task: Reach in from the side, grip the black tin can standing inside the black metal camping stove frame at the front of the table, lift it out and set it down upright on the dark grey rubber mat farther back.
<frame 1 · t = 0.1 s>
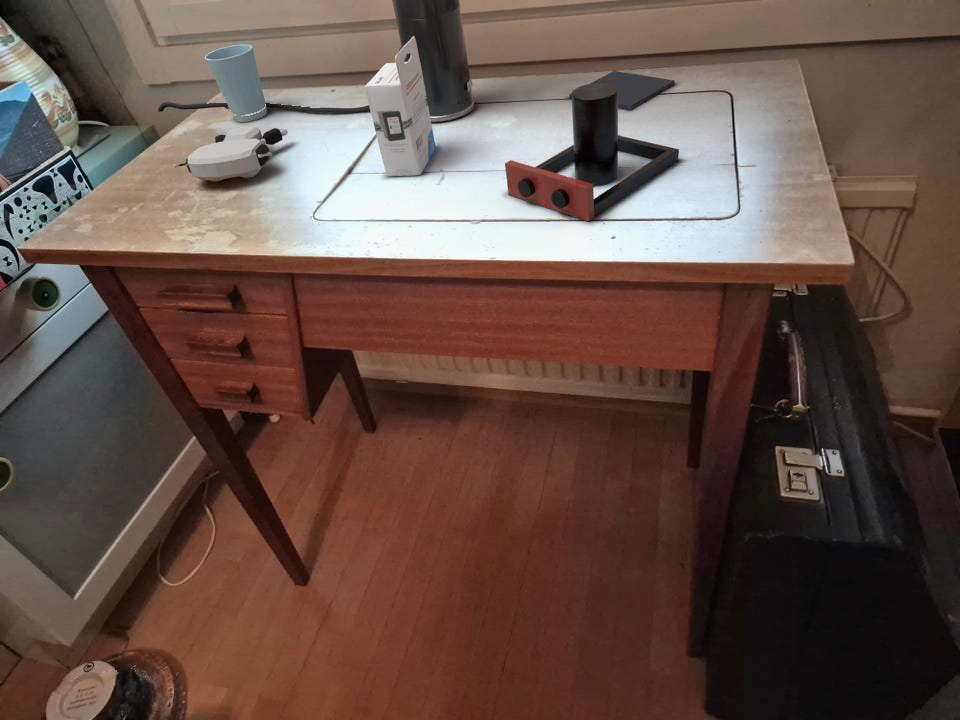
can: (596, 176, 78), resting in stove
mat: (621, 91, 98), on the table
stove: (596, 176, 78), on the table
cup: (251, 117, 112), on the table
ink box: (412, 164, 89), on the table
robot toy: (243, 168, 95), on the table
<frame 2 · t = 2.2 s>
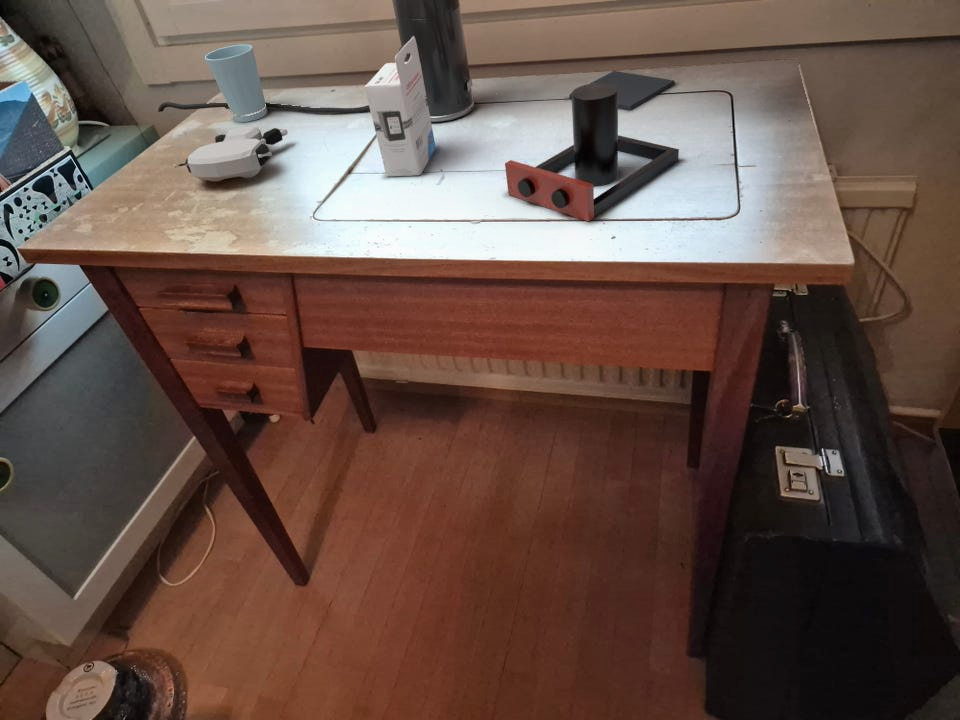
nothing on the table moved.
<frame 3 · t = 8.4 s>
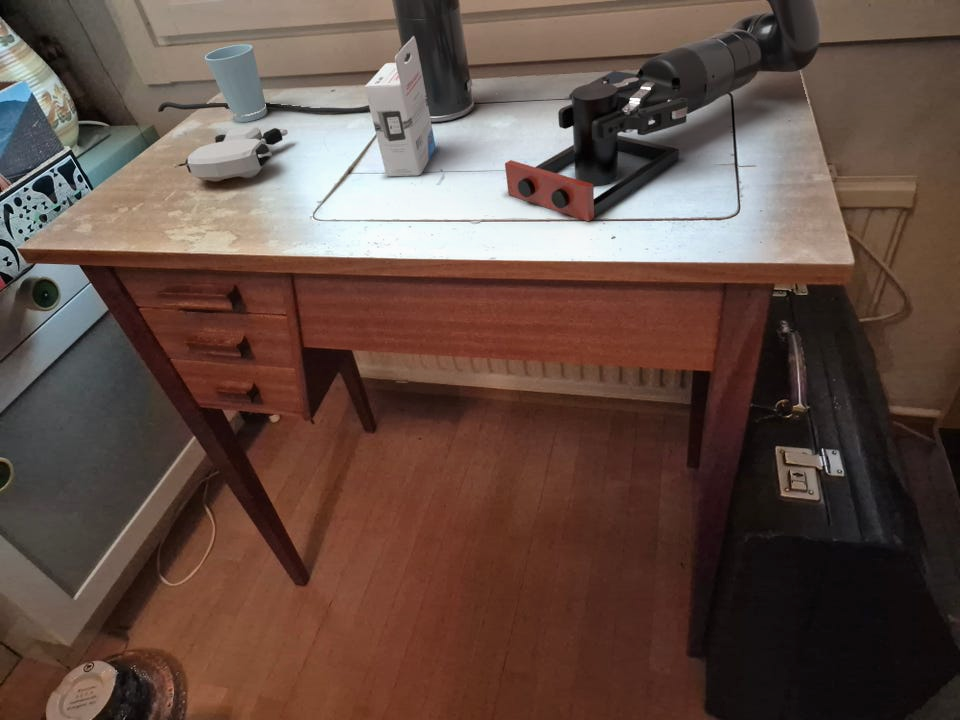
hand: (577, 125, 73), 7 cm above the table, tool horizontal, fingers closed on can, 5 cm apart
can: (596, 176, 78), resting in stove, touching gripper
everything else where it was.
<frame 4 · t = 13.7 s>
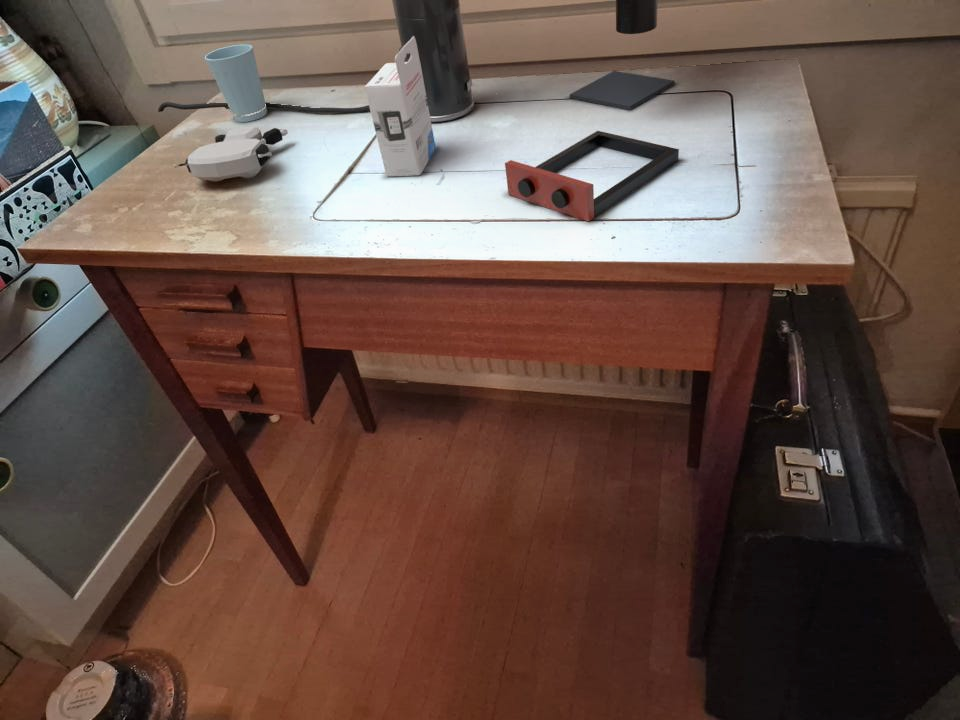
can: (636, 27, 83), point 11 cm above the table, touching gripper
everything else where it was.
when the fingers open (8 cm above the table, at t = 19.0 s): can stays where it is, resting on mat.
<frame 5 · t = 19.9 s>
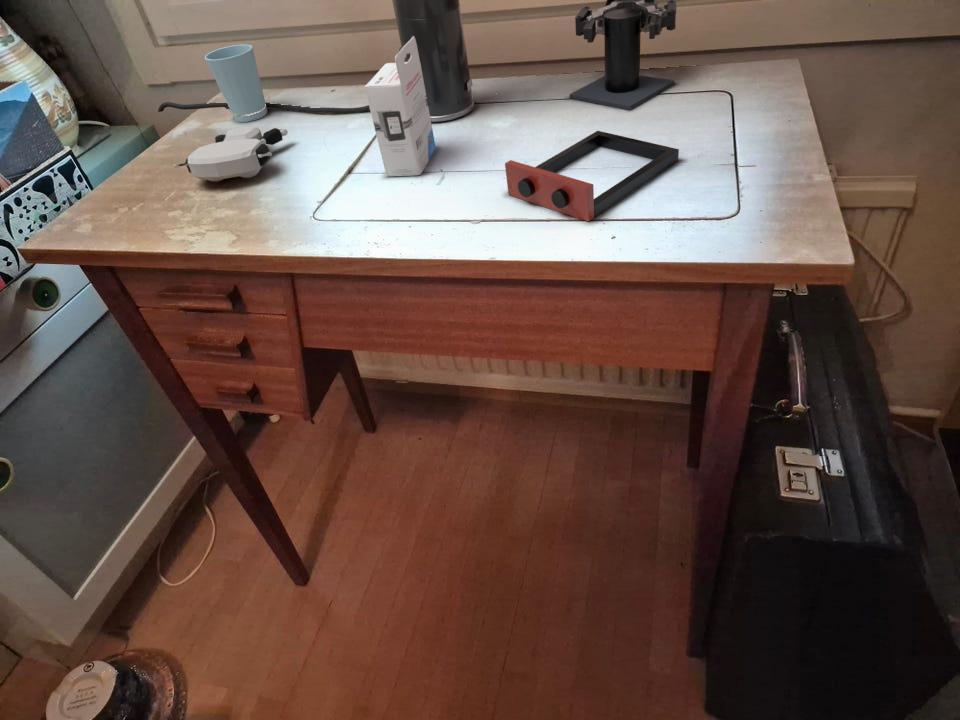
hand: (620, 33, 91), 9 cm above the table, tool horizontal, fingers open, 8 cm apart
can: (622, 87, 98), point 1 cm above the table, touching mat
everything else where it was.
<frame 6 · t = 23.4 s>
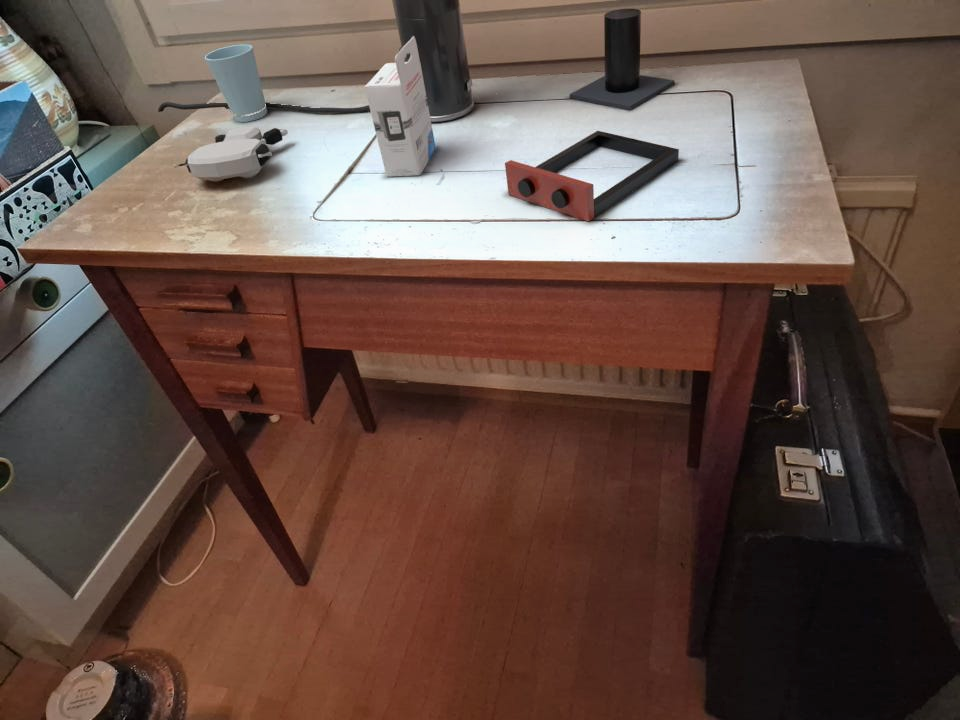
nothing on the table moved.
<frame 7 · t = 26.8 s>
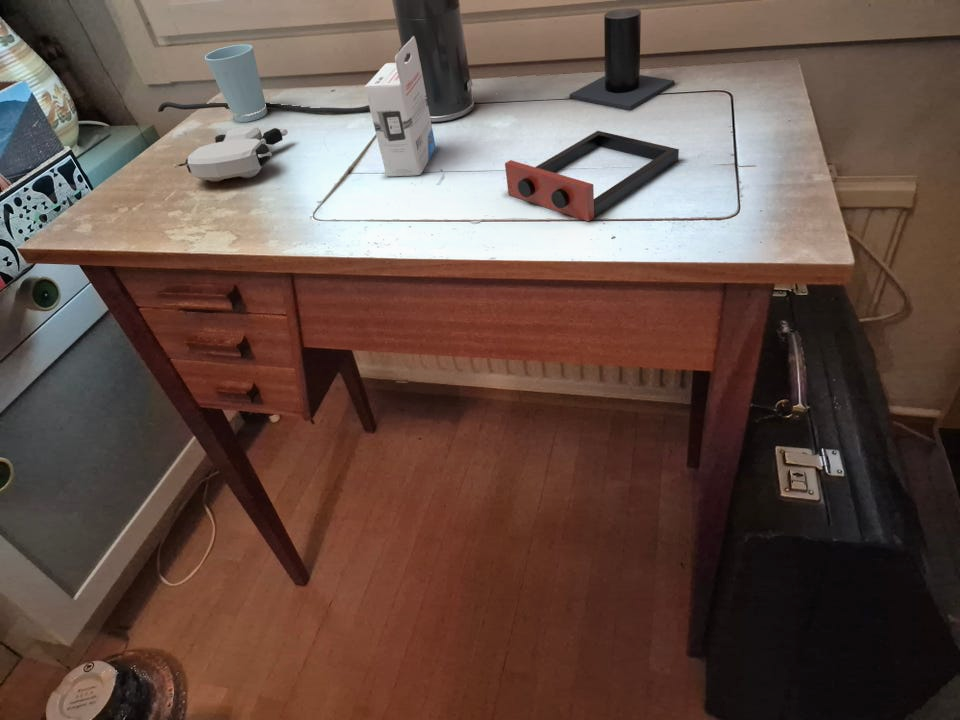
nothing on the table moved.
at the end: can inside the target area on the mat (0.1 cm from its centre), point 0.6 cm above the mat's base; can tilted 0°; the gripper is holding nothing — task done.
